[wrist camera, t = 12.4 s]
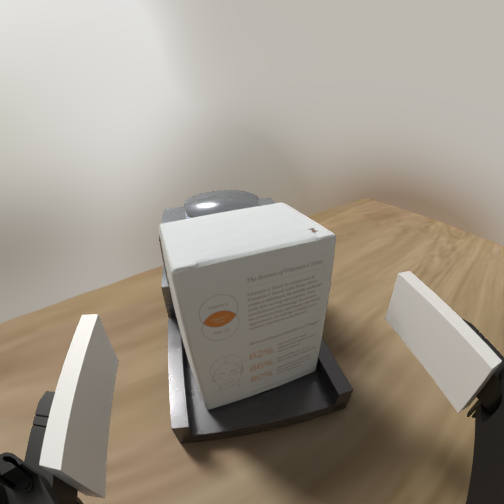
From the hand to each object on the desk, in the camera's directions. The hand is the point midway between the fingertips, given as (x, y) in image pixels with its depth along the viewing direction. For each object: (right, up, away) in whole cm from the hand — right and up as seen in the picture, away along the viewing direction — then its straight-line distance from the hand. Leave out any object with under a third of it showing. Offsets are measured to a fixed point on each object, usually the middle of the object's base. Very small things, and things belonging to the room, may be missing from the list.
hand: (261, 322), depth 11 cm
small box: (-1, -5, +8) cm, 9 cm away
